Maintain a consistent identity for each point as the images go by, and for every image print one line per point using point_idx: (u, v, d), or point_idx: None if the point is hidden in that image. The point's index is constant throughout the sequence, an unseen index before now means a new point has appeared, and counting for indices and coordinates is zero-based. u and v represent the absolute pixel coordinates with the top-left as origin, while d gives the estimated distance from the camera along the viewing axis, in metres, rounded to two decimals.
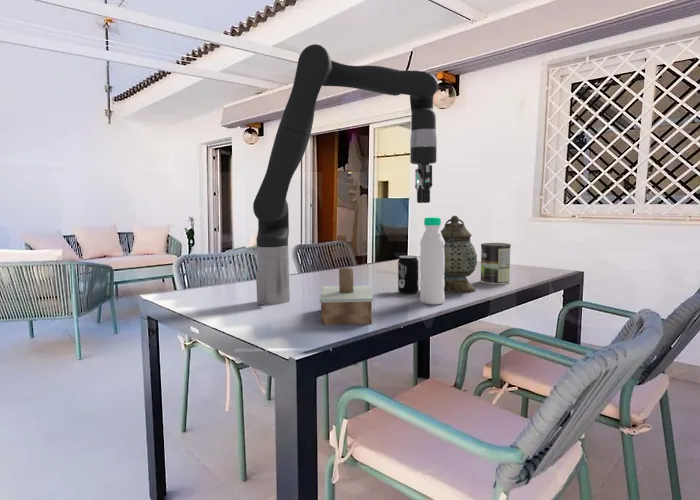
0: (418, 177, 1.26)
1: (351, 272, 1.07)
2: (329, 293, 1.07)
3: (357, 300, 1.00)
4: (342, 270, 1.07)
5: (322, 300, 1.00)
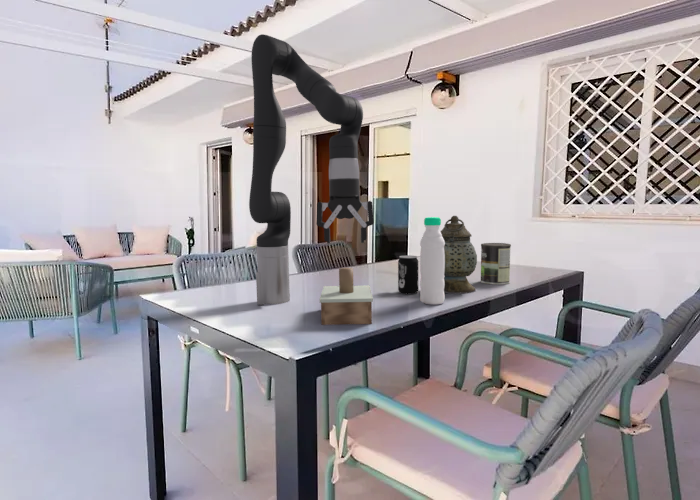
0: None
1: (351, 272, 1.07)
2: (329, 293, 1.07)
3: (357, 300, 1.00)
4: (342, 270, 1.07)
5: (322, 300, 1.00)
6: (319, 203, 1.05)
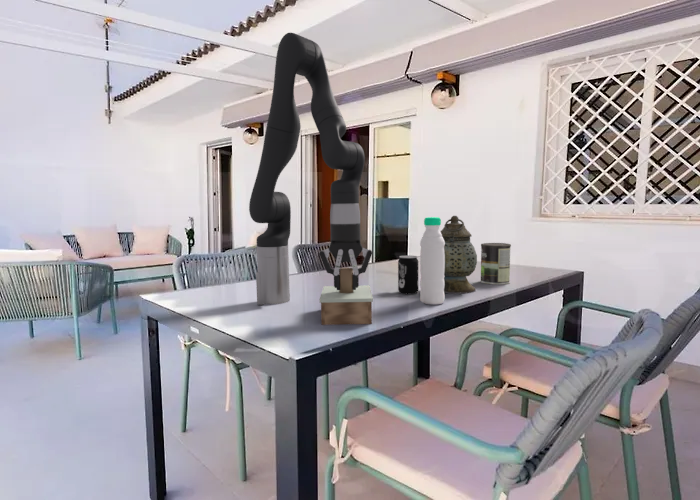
0: None
1: (351, 272, 1.07)
2: (329, 293, 1.07)
3: (357, 300, 1.00)
4: (342, 270, 1.07)
5: (322, 300, 1.00)
6: (321, 252, 1.06)
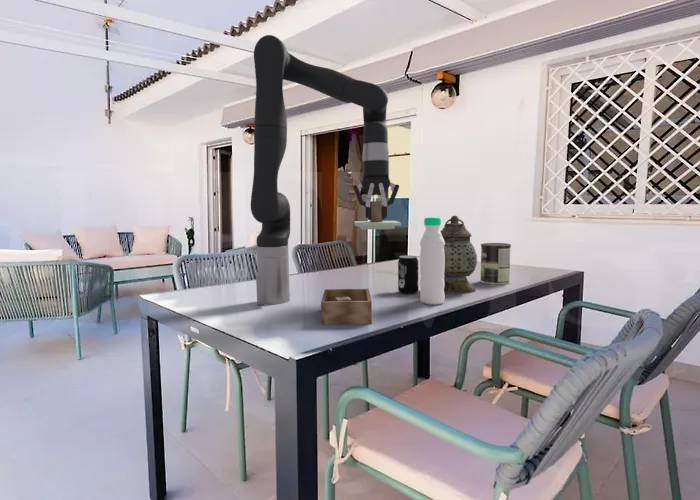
0: None
1: (380, 203, 1.23)
2: (361, 222, 1.23)
3: (387, 224, 1.17)
4: (373, 202, 1.23)
5: (357, 224, 1.17)
6: (355, 186, 1.23)
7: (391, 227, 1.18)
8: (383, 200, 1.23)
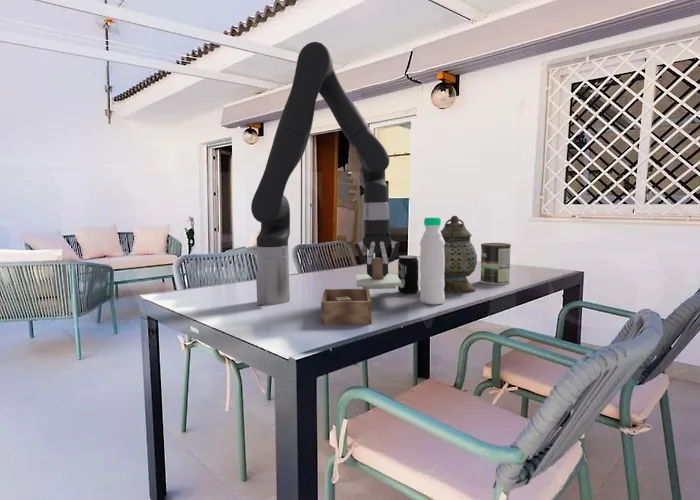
0: None
1: (381, 261, 1.25)
2: (363, 279, 1.25)
3: (389, 284, 1.18)
4: (374, 259, 1.24)
5: (359, 284, 1.18)
6: (356, 244, 1.24)
7: (392, 287, 1.20)
8: (384, 258, 1.25)
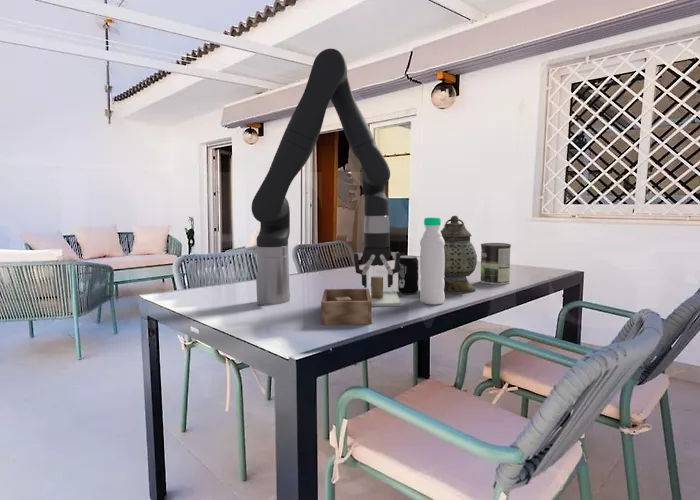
0: None
1: (381, 280, 1.25)
2: None
3: (388, 304, 1.19)
4: (374, 279, 1.25)
5: None
6: (355, 254, 1.25)
7: None
8: (388, 269, 1.25)
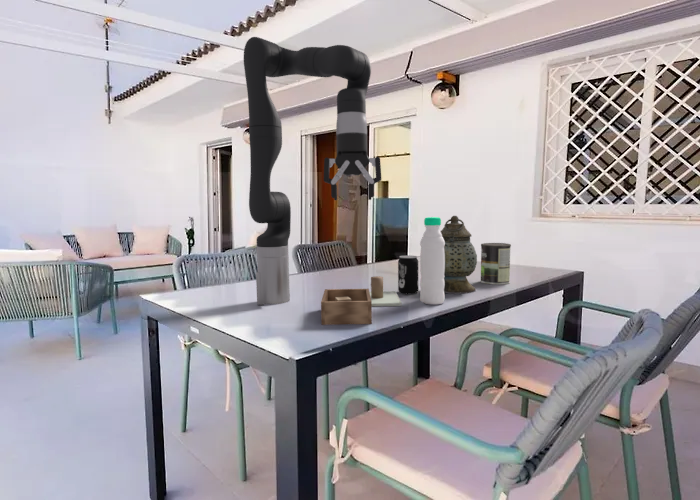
0: None
1: (381, 280, 1.25)
2: None
3: (388, 304, 1.19)
4: (374, 279, 1.25)
5: None
6: (326, 159, 1.04)
7: None
8: (367, 178, 1.05)
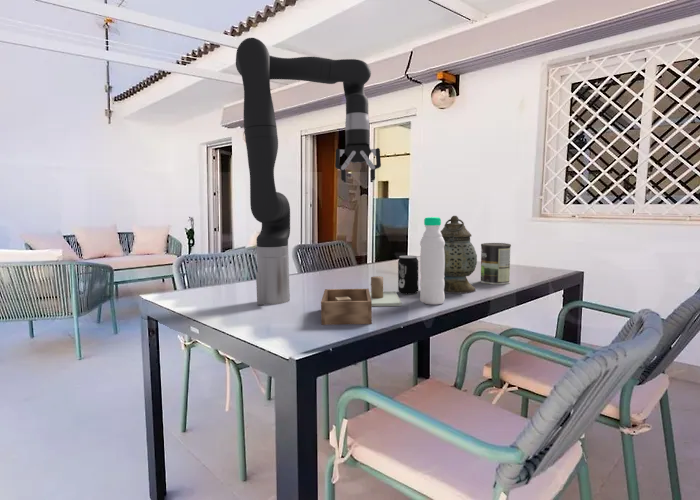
0: None
1: (381, 280, 1.25)
2: None
3: (388, 304, 1.19)
4: (374, 279, 1.25)
5: None
6: (337, 149, 1.32)
7: None
8: (370, 164, 1.33)
